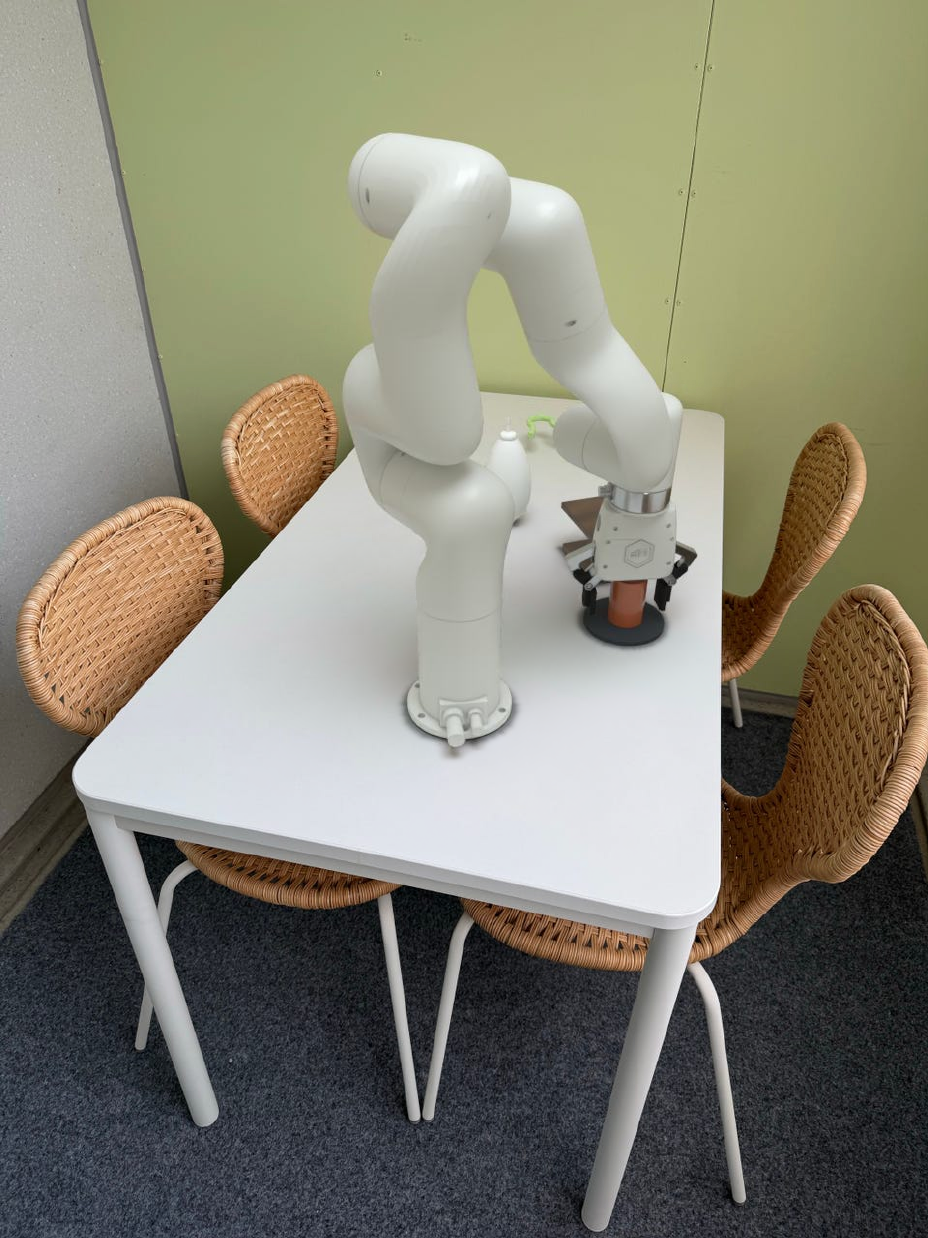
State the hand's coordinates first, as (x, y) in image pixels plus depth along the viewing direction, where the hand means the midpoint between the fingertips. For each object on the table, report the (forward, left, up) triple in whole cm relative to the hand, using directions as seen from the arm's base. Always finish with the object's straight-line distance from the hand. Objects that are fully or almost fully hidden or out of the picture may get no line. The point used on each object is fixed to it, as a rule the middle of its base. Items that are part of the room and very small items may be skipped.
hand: (624, 607), depth 117 cm
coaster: (0, 0, -3) cm, 3 cm away
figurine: (+60, -9, -3) cm, 61 cm away
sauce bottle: (+30, +12, -3) cm, 32 cm away
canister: (0, 0, -2) cm, 2 cm away
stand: (+16, -2, -3) cm, 16 cm away
